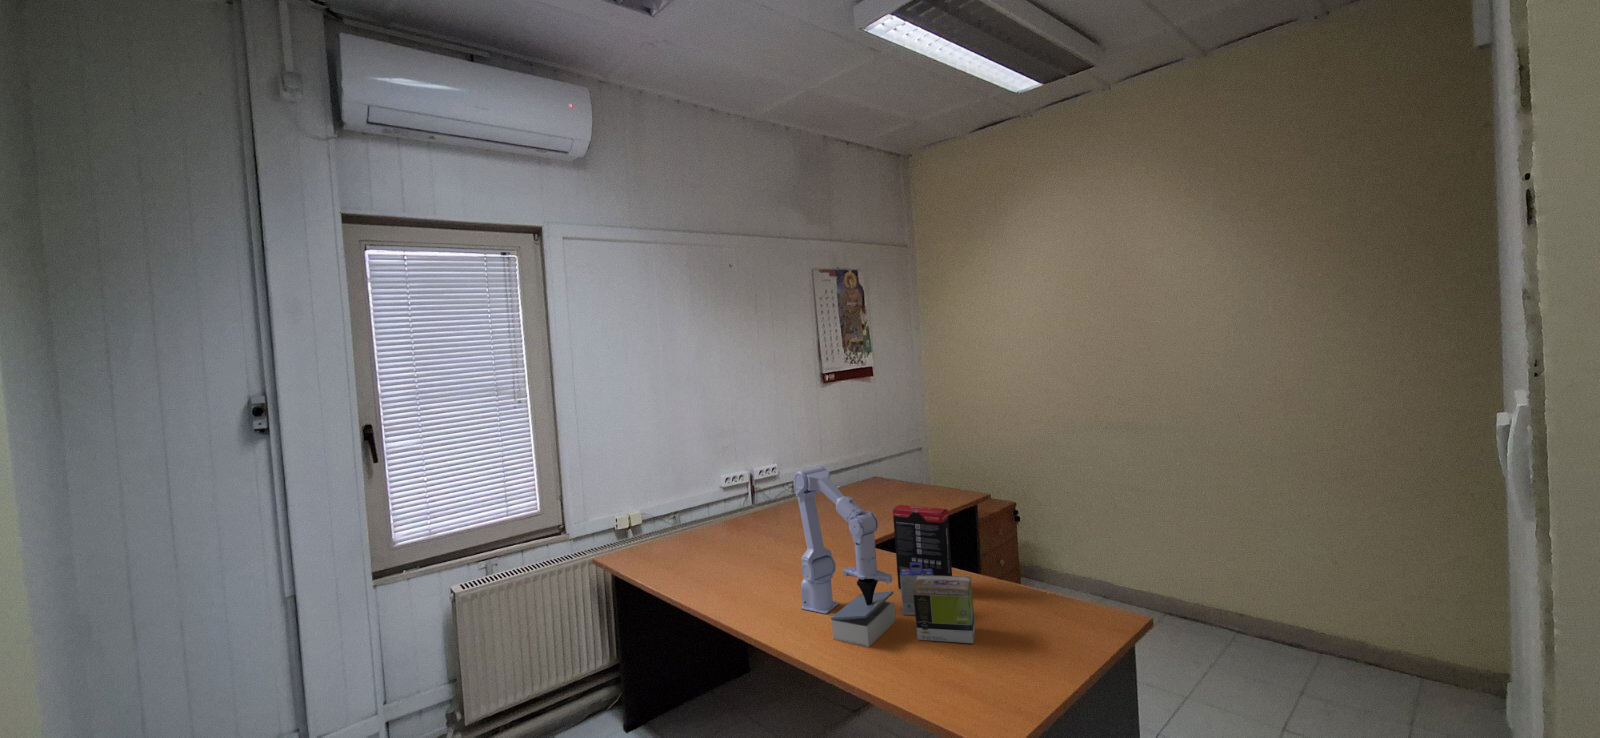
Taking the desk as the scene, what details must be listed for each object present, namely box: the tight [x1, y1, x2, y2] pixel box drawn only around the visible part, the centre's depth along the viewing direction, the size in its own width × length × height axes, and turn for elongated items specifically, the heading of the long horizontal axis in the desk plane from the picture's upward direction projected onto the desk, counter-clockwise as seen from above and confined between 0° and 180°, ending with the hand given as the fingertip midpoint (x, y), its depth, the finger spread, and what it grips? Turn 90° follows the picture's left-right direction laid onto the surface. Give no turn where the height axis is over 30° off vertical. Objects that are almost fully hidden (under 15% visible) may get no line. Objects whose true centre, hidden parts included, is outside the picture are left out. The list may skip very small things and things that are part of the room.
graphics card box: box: [892, 504, 953, 590], centre depth 195 cm, size 17×7×27 cm, turn 58°
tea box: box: [913, 575, 976, 644], centre depth 165 cm, size 15×10×15 cm, turn 71°
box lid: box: [830, 590, 894, 621], centre depth 171 cm, size 11×17×1 cm, turn 146°
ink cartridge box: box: [900, 562, 933, 616], centre depth 180 cm, size 10×6×14 cm, turn 78°
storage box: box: [831, 600, 896, 648], centre depth 171 cm, size 11×17×6 cm, turn 146°
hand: (869, 603), depth 170 cm, fingers closed, pressing on box lid
